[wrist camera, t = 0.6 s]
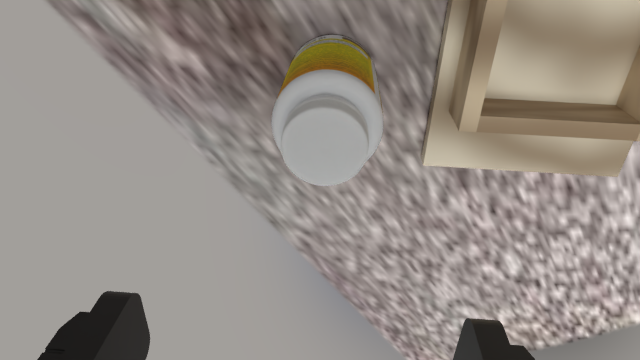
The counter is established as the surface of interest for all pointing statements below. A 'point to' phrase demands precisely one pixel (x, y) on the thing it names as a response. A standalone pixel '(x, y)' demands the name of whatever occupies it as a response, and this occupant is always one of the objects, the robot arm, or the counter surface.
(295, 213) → the counter surface
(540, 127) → the cup caddy
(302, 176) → the supplement bottle
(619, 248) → the counter surface
